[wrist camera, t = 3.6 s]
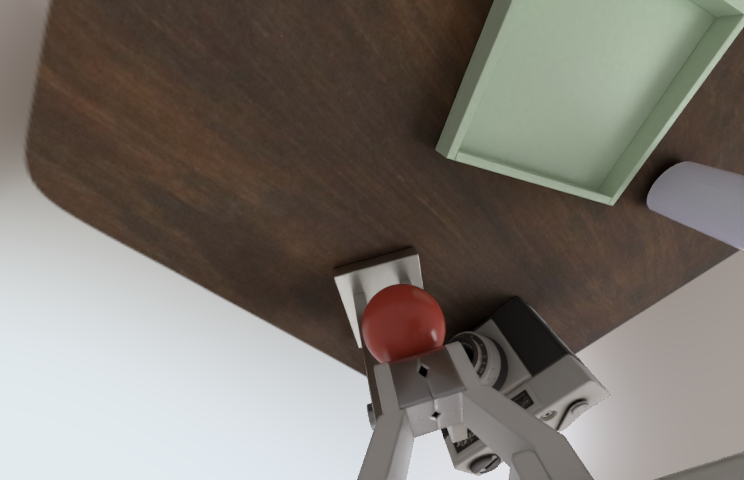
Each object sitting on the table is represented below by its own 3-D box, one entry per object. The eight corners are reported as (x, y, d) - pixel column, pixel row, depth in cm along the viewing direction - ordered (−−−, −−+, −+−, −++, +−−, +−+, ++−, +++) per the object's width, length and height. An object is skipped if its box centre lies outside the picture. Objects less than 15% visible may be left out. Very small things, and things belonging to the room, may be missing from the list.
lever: (347, 280, 11) (363, 360, 9) (427, 258, 12) (462, 331, 9) (387, 391, 21) (400, 445, 18) (431, 378, 21) (450, 430, 19)
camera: (498, 276, 28) (578, 368, 20) (538, 311, 32) (619, 401, 24) (395, 361, 32) (426, 468, 24) (442, 383, 36) (482, 483, 27)
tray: (434, 149, 21) (446, 158, 19) (536, -109, 15) (566, -132, 13) (591, 195, 25) (613, 206, 24) (718, 11, 19) (759, 6, 18)
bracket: (332, 268, 25) (347, 410, 15) (414, 246, 25) (483, 370, 15) (357, 338, 29) (381, 482, 19) (425, 319, 30) (483, 451, 20)
